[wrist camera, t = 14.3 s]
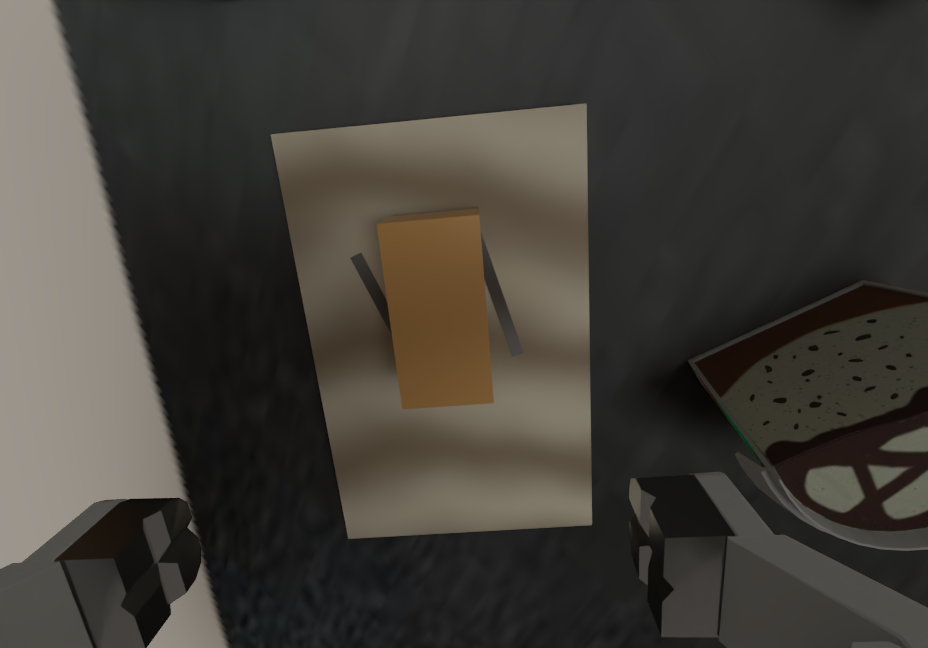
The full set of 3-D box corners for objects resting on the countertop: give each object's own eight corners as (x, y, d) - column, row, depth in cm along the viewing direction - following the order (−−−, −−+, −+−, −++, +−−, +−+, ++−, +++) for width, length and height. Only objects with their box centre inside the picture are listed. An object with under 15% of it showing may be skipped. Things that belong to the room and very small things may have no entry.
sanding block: (491, 367, 25) (493, 403, 21) (413, 373, 25) (402, 409, 22) (478, 207, 23) (479, 215, 19) (393, 214, 23) (376, 224, 19)
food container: (701, 460, 28) (816, 609, 19) (660, 372, 27) (763, 486, 17) (923, 366, 26) (1178, 480, 17) (893, 265, 25) (1156, 327, 15)
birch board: (586, 507, 29) (592, 525, 28) (354, 521, 30) (348, 539, 29) (579, 107, 23) (586, 103, 21) (283, 136, 23) (270, 134, 22)
